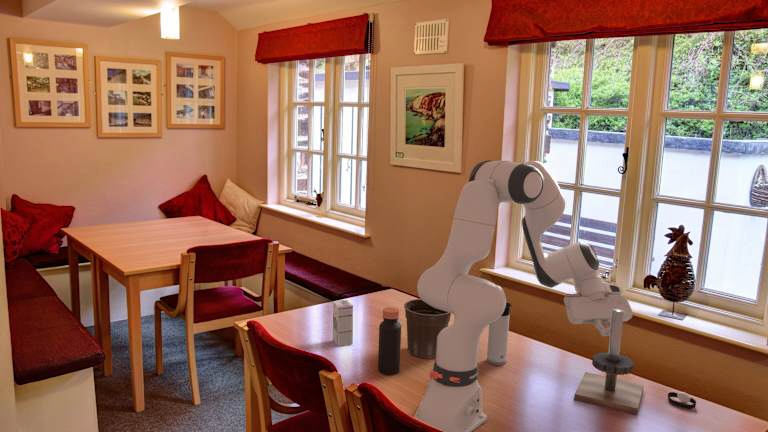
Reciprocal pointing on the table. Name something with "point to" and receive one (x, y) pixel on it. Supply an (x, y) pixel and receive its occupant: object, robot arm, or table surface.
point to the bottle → (389, 342)
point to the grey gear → (612, 364)
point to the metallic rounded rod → (614, 347)
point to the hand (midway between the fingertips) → (607, 335)
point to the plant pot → (424, 327)
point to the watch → (683, 398)
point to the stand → (609, 393)
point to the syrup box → (342, 322)
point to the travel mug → (498, 338)
